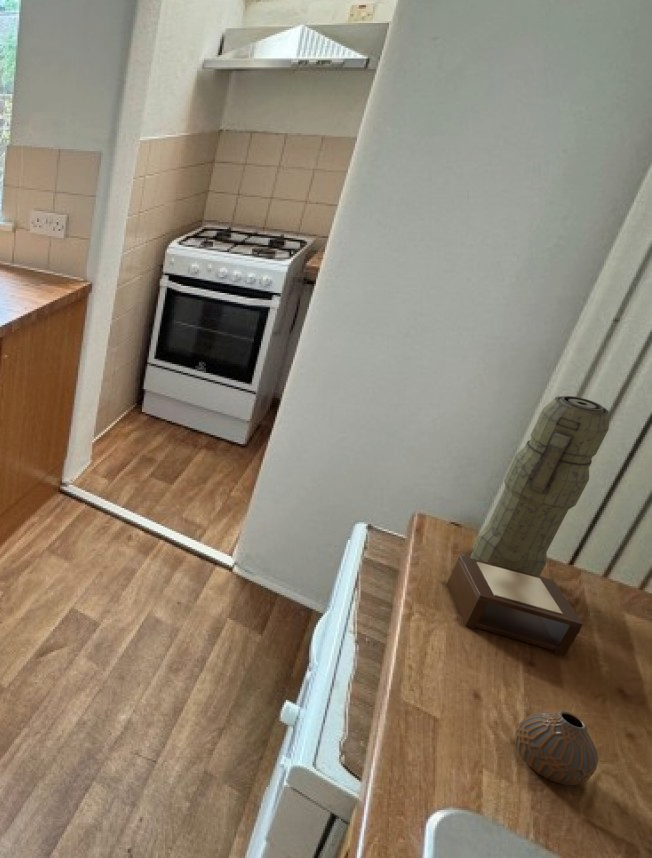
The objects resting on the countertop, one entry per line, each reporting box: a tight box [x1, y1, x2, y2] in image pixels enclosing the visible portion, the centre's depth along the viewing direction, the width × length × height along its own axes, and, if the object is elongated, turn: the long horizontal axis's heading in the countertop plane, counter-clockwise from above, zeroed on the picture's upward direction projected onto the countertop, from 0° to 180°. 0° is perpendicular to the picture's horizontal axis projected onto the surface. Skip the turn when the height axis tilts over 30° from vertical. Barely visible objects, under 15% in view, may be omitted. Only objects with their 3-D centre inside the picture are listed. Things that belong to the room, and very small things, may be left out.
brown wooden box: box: [446, 554, 584, 657], centre depth 98 cm, size 12×10×7 cm
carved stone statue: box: [469, 395, 610, 576], centre depth 102 cm, size 9×12×35 cm
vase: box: [514, 710, 599, 786], centre depth 76 cm, size 7×7×9 cm
